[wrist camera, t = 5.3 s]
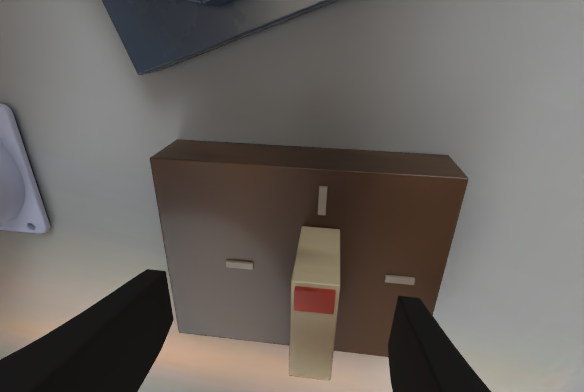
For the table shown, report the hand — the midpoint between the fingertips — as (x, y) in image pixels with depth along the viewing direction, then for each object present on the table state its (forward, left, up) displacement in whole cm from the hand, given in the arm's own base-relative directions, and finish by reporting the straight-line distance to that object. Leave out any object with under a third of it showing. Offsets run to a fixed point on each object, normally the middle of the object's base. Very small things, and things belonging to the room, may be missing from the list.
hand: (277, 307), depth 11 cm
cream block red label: (+1, -3, -6) cm, 7 cm away
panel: (0, -3, -9) cm, 10 cm away
